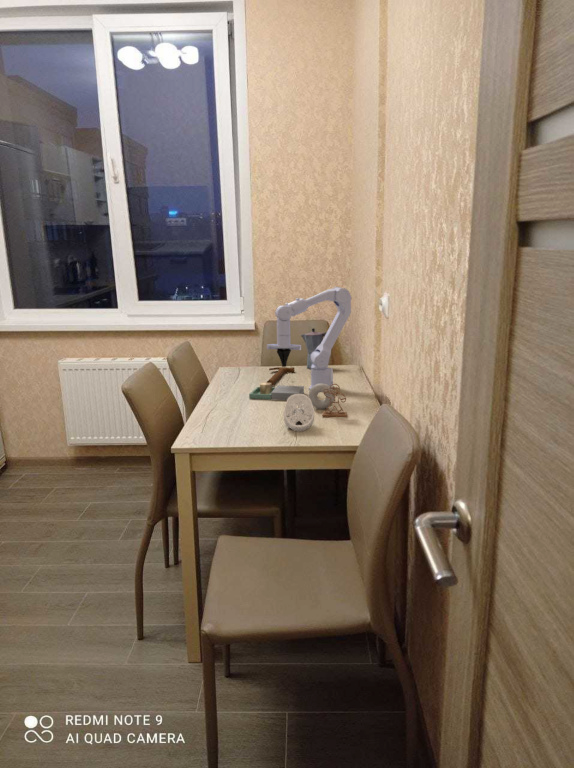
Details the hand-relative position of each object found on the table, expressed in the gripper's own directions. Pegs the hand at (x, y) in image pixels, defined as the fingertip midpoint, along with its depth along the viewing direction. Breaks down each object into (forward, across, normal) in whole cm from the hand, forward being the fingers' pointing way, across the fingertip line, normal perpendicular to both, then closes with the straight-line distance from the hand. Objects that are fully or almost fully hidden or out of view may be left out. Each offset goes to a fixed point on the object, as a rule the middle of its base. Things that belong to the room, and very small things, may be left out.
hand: (284, 366), depth 238 cm
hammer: (+11, +9, -21) cm, 25 cm away
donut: (+11, -20, +26) cm, 35 cm away
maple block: (+8, +4, +8) cm, 12 cm away
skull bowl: (+11, -16, +48) cm, 52 cm away
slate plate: (+10, -4, +10) cm, 15 cm away
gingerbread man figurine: (+11, -26, +34) cm, 44 cm away
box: (+10, +7, +10) cm, 16 cm away
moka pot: (+10, -6, -46) cm, 48 cm away
